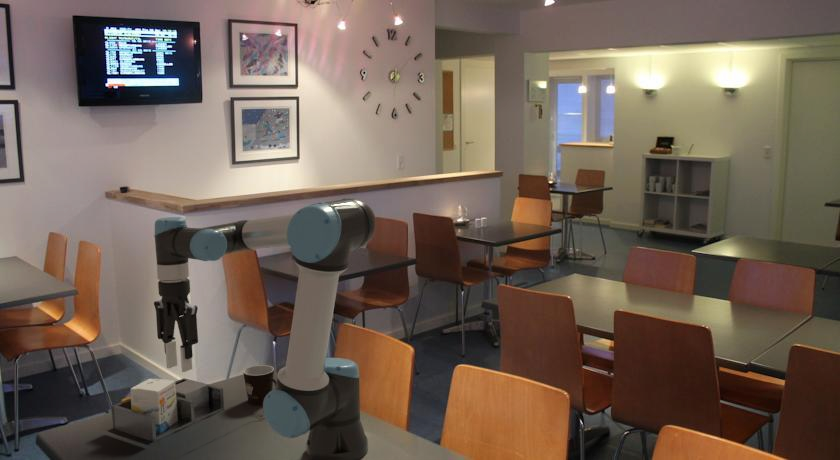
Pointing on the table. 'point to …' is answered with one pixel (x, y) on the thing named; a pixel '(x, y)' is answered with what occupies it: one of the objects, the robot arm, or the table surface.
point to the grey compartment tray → (145, 424)
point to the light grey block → (194, 394)
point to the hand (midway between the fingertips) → (179, 368)
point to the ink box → (156, 401)
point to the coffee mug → (258, 383)
